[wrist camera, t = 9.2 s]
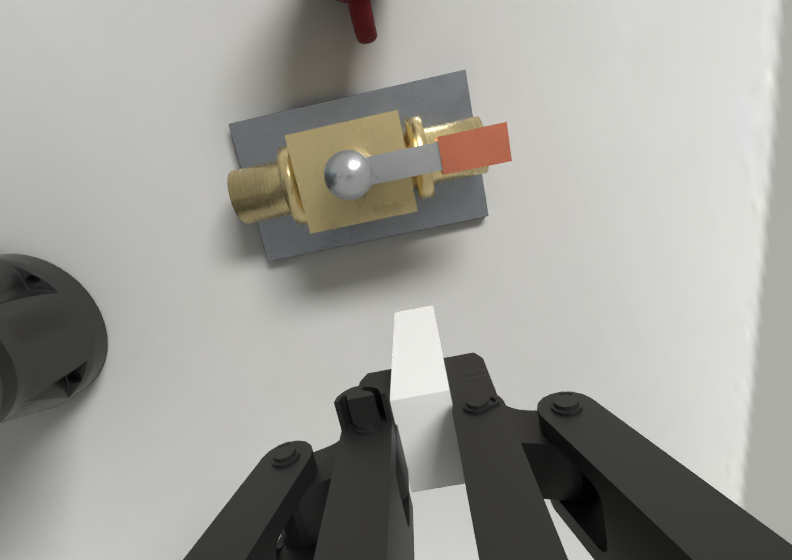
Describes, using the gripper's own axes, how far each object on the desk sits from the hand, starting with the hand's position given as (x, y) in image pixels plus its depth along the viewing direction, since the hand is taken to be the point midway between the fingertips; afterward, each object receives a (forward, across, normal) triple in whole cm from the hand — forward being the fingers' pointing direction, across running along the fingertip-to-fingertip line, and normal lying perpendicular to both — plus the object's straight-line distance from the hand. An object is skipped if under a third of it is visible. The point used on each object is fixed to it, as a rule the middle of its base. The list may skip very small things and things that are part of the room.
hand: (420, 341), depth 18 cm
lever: (+16, +1, +6) cm, 18 cm away
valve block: (+24, -3, +6) cm, 25 cm away
